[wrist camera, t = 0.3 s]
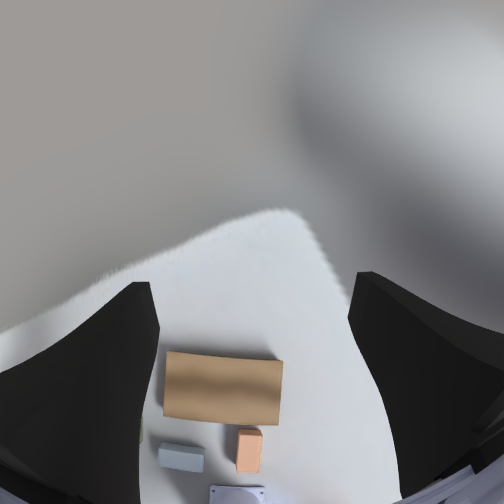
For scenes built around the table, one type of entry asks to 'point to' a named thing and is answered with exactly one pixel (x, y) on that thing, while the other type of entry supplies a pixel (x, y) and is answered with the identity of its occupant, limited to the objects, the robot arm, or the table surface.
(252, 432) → the terracotta brick
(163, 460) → the slate brick
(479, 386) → the robot arm
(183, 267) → the table surface
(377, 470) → the table surface
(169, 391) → the walnut slab
